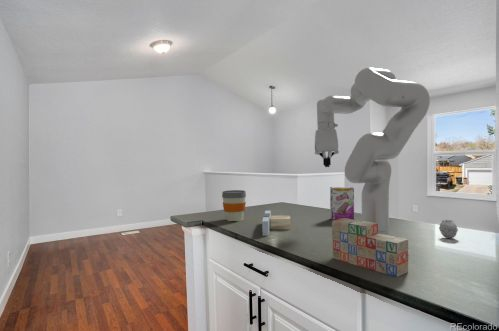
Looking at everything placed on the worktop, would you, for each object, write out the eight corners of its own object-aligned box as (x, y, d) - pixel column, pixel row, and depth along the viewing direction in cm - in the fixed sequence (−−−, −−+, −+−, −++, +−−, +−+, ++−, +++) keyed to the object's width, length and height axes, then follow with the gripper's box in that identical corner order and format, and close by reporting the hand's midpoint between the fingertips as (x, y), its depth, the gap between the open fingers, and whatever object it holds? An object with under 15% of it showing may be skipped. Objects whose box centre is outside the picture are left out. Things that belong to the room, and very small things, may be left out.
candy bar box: (331, 220, 158) (331, 187, 157) (330, 218, 163) (329, 186, 162) (354, 220, 156) (354, 187, 156) (352, 218, 161) (351, 186, 161)
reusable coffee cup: (246, 222, 159) (245, 192, 159) (221, 222, 159) (220, 193, 159) (246, 217, 171) (246, 189, 171) (223, 217, 172) (223, 190, 171)
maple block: (290, 229, 141) (290, 218, 141) (270, 229, 142) (270, 218, 142) (290, 226, 148) (290, 215, 148) (271, 226, 149) (271, 215, 149)
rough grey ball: (454, 236, 123) (454, 218, 123) (461, 240, 116) (460, 222, 116) (436, 235, 124) (436, 217, 124) (442, 240, 118) (442, 221, 118)
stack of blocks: (409, 272, 87) (408, 228, 87) (397, 278, 83) (396, 231, 83) (344, 254, 104) (343, 217, 104) (332, 258, 100) (331, 219, 100)
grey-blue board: (268, 235, 130) (268, 220, 130) (262, 235, 131) (262, 220, 131) (270, 222, 156) (270, 209, 156) (265, 222, 157) (265, 210, 156)
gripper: (340, 127, 148) (341, 166, 148) (308, 128, 149) (309, 167, 149) (344, 125, 140) (345, 166, 140) (310, 126, 141) (311, 167, 141)
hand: (327, 166), depth 144 cm, fingers closed
